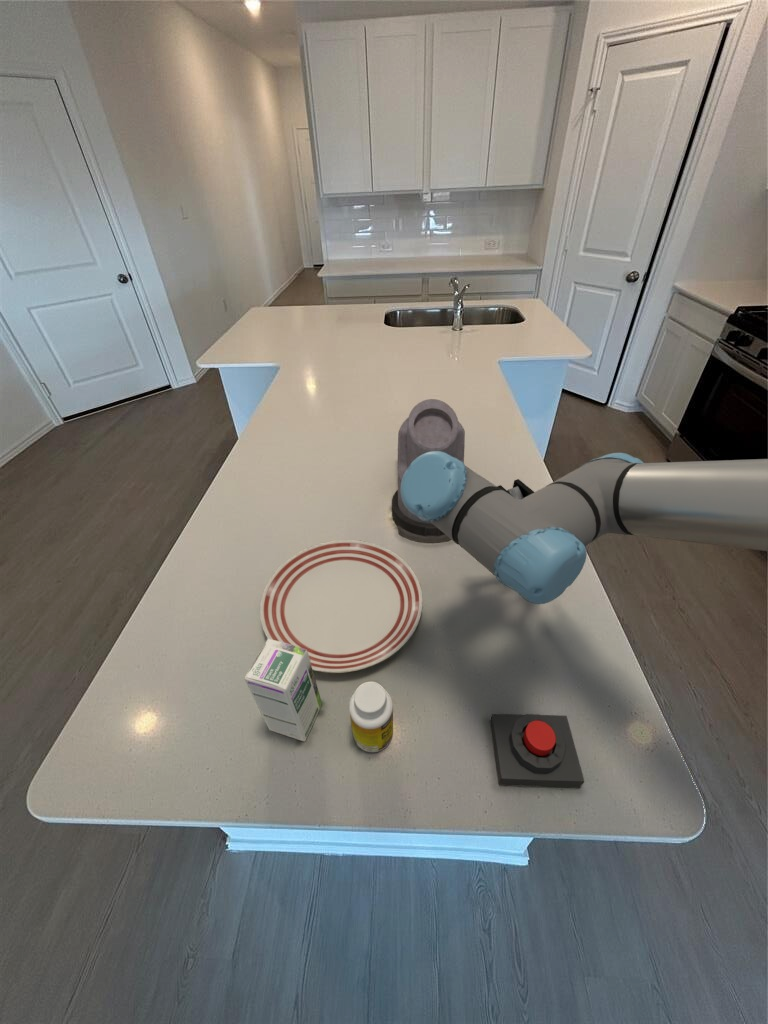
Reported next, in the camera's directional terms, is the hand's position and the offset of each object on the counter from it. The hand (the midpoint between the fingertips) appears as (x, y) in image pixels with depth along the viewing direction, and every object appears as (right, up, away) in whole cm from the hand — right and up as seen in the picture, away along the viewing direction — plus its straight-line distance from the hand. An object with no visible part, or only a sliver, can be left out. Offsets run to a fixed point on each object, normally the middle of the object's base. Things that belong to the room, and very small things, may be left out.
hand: (546, 552), depth 75 cm
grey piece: (-18, +10, +24) cm, 32 cm away
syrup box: (-40, -22, -13) cm, 48 cm away
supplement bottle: (-29, -24, -15) cm, 40 cm away
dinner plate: (-35, -10, +1) cm, 36 cm away
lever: (-3, +4, +4) cm, 6 cm away
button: (-8, -22, -20) cm, 31 cm away
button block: (-8, -25, -17) cm, 31 cm away
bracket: (-4, 0, +12) cm, 13 cm away
